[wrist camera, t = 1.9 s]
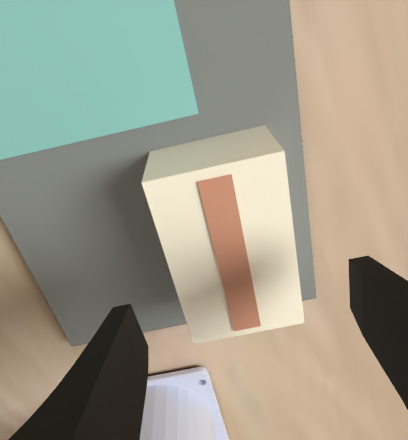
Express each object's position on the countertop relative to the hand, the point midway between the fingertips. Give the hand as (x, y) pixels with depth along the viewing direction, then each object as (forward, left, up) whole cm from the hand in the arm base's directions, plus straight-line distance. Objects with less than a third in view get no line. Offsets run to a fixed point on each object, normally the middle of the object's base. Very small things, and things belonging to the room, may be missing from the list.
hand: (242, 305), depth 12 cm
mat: (+4, +3, -7) cm, 8 cm away
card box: (0, 0, -6) cm, 6 cm away
